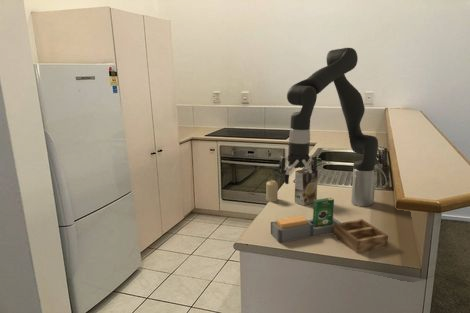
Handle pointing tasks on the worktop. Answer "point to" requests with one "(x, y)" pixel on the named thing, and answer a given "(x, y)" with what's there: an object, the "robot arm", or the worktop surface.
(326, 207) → the coffee box
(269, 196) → the candle
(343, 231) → the walnut rack
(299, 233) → the stand
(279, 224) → the key
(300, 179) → the coffee box
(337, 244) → the worktop surface
